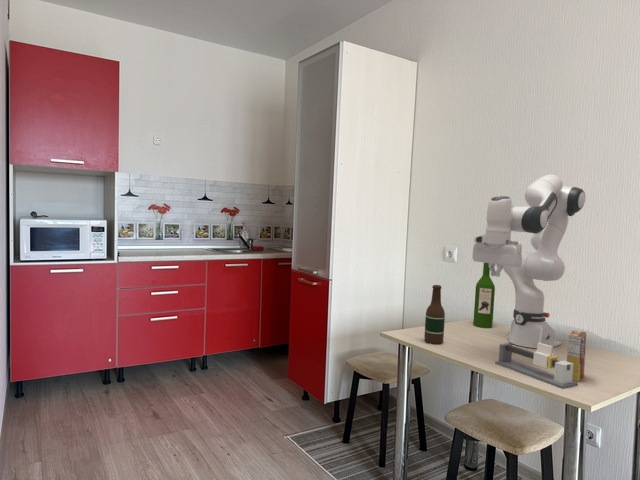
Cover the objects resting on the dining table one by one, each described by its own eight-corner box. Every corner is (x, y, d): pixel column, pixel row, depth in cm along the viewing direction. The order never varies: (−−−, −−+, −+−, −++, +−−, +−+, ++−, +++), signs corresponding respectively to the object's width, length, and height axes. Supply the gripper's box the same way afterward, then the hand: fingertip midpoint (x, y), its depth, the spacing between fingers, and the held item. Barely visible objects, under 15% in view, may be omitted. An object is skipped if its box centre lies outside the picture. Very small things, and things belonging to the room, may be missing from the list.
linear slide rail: (509, 360, 171) (511, 340, 171) (577, 385, 148) (579, 361, 148) (495, 363, 167) (496, 342, 167) (562, 388, 144) (564, 364, 144)
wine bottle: (474, 327, 223) (479, 260, 221) (471, 323, 232) (476, 259, 230) (494, 328, 221) (498, 261, 219) (490, 324, 230) (494, 260, 228)
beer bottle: (443, 345, 188) (447, 287, 186) (424, 343, 189) (427, 286, 188) (442, 340, 195) (446, 284, 194) (423, 338, 197) (427, 283, 196)
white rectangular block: (540, 362, 158) (542, 342, 157) (554, 366, 153) (555, 346, 153) (533, 363, 156) (534, 343, 155) (546, 368, 152) (548, 347, 151)
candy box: (570, 372, 161) (573, 329, 160) (584, 375, 158) (587, 332, 157) (564, 378, 154) (567, 334, 153) (578, 382, 151) (582, 336, 150)
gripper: (527, 241, 164) (524, 280, 165) (482, 237, 182) (480, 272, 183) (515, 241, 161) (512, 280, 162) (471, 237, 179) (468, 272, 180)
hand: (495, 276), depth 173 cm, fingers closed
